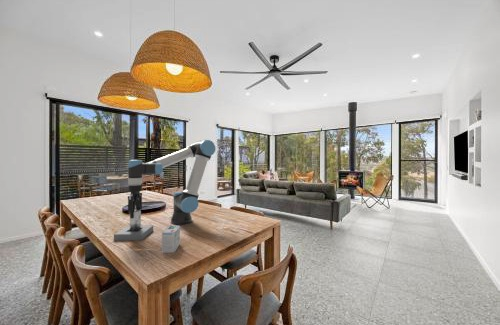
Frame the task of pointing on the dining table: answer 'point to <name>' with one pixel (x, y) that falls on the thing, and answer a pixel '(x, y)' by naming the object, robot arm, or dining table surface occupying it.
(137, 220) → the end cap
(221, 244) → the dining table surface
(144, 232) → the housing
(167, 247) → the light bulb box
